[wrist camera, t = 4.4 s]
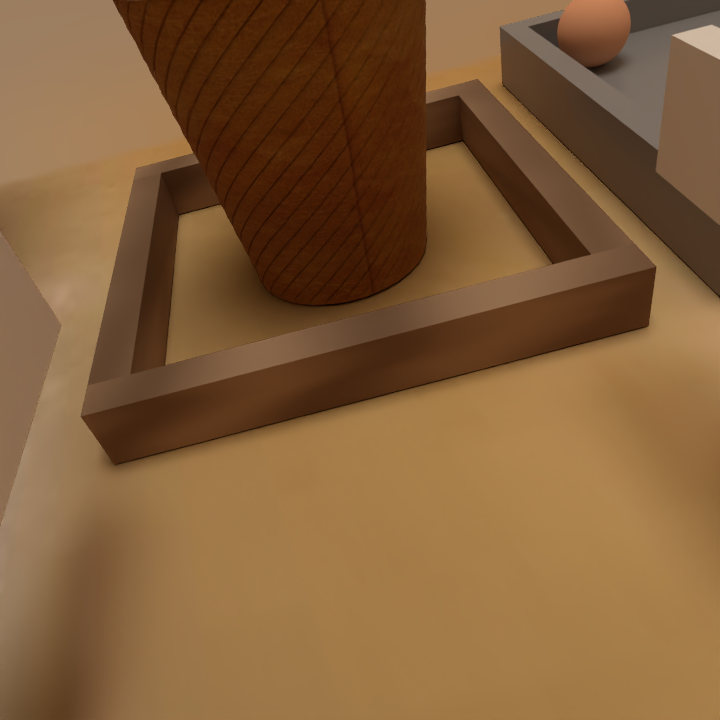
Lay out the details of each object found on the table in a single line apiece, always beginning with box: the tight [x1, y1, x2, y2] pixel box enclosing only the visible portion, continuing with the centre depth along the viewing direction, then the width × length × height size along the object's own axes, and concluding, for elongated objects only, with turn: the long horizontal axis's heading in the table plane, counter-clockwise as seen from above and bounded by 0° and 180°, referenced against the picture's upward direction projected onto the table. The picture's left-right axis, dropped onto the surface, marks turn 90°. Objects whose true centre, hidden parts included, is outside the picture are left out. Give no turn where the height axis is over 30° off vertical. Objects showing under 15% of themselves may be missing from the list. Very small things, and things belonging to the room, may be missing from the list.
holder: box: [81, 79, 656, 464], centre depth 23 cm, size 15×15×2 cm
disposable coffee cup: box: [113, 0, 427, 305], centre depth 20 cm, size 10×10×12 cm
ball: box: [557, 0, 631, 68], centre depth 28 cm, size 3×3×3 cm
